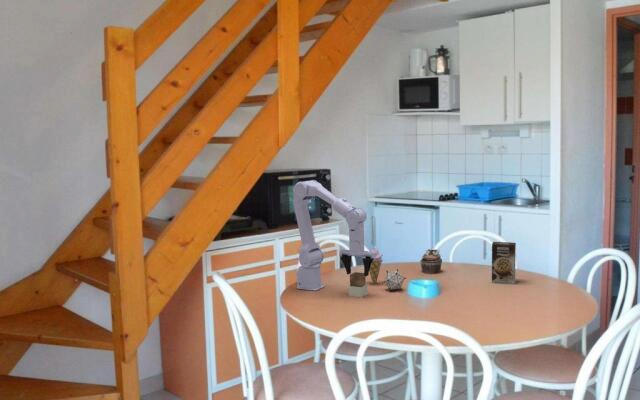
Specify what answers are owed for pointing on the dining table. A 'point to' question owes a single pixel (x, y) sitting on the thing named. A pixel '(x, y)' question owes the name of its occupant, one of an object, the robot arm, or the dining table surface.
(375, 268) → the ice cream cone
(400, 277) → the game die
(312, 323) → the dining table surface
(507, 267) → the coffee box
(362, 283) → the walnut cube
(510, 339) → the dining table surface
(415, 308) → the dining table surface
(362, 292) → the base block
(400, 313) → the dining table surface
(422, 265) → the cupcake
